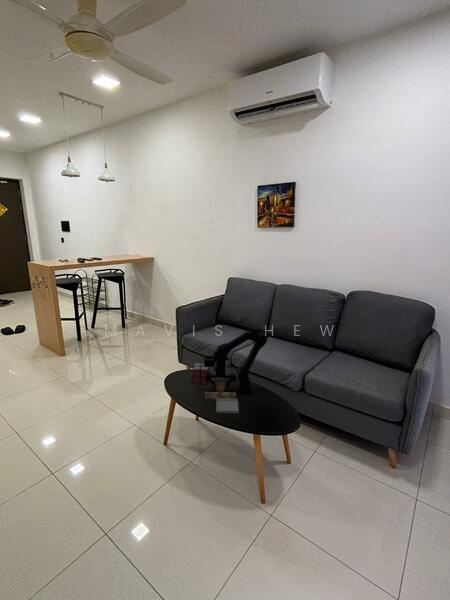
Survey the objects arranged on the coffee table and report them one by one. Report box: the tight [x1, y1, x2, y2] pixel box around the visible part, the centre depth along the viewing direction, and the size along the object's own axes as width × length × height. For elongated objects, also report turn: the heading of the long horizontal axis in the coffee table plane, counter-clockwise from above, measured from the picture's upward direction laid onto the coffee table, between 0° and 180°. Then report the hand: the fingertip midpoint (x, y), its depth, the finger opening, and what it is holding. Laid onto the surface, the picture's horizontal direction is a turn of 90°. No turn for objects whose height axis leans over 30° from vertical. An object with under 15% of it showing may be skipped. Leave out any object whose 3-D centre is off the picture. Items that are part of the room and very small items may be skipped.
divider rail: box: [204, 391, 237, 400], centre depth 175 cm, size 18×1×4 cm, turn 90°
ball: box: [215, 381, 226, 392], centre depth 183 cm, size 6×6×6 cm
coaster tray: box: [215, 398, 240, 414], centre depth 168 cm, size 12×12×2 cm
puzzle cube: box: [192, 362, 210, 385], centre depth 196 cm, size 10×10×10 cm
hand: (220, 389), depth 183 cm, fingers closed on ball, 6 cm apart
